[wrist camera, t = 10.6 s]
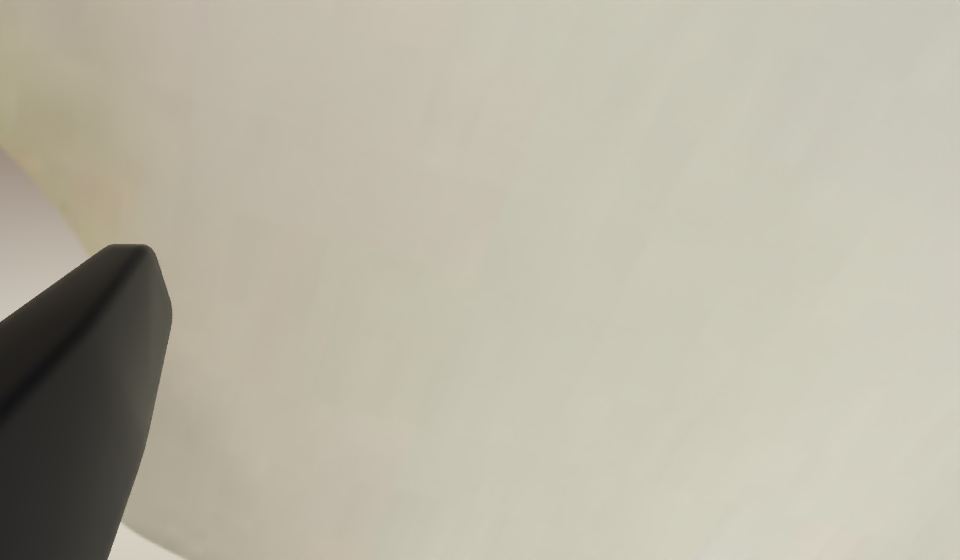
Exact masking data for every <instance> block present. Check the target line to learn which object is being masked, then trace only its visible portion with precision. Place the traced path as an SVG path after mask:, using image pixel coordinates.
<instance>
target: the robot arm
mask: <svg viewBox="0 0 960 560" xmlns="http://www.w3.org/2000/svg"><path fill="white" fill-rule="evenodd" d="M171 324H172V306H171V301H170V298H169V294H168V291H167V288H166V285H165V282H164V279H163V276H162V272H161V269H160V266H159V263H158V260H157V257H156V255H155V252H154V251H153V250H152V248H150V247H149V246H147V245H144V244H112V245H109V246H107V247H105V248H103V249H102V250H100V251H99V252H98V253H96V254H95V255H93V256H92V257H91V258H89V259H88V260H86V261H85V262H84V263H82V264H81V265H80V266H78V267H77V268H75V269H74V270H72V271H71V272H70V273H68V274H67V275H66V276H64V277H63V278H61V279H60V280H58V281H57V282H56V283H54V284H53V285H51V286H50V287H49V288H47V289H46V290H45V291H43V292H42V293H40V294H39V295H38V296H36V297H35V298H33V299H32V300H31V301H29V302H28V303H26V304H25V305H24V306H22V307H21V308H19V309H18V310H16V311H15V312H14V313H12V314H11V315H10V316H8V317H7V318H5V319H4V320H3V321H1V322H0V560H107V559H108V556H109V554H110V551H111V547H112V545H113V542H114V539H115V536H116V533H117V530H118V527H119V524H120V522H121V519H122V516H123V513H124V510H125V507H126V504H127V501H128V498H129V495H130V492H131V489H132V487H133V484H134V481H135V478H136V475H137V472H138V469H139V466H140V463H141V459H142V456H143V453H144V450H145V446H146V441H147V437H148V433H149V429H150V424H151V420H152V415H153V410H154V405H155V401H156V396H157V391H158V386H159V382H160V377H161V372H162V367H163V363H164V358H165V353H166V349H167V344H168V339H169V334H170V330H171Z"/></svg>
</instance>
